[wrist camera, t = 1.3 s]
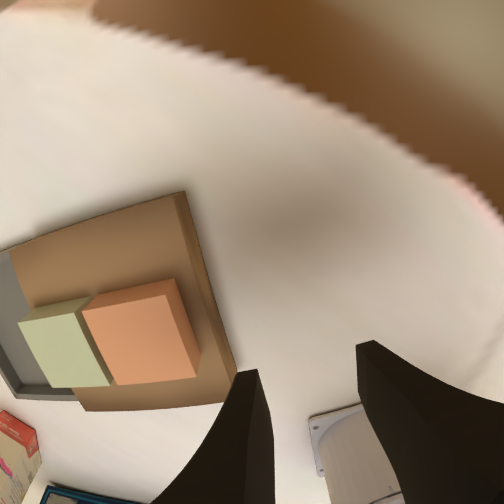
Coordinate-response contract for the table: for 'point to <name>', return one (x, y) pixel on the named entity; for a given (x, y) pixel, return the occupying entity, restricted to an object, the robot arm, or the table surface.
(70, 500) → the book
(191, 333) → the tile
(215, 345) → the plate
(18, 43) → the table surface
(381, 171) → the table surface
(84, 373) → the tile
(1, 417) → the ink cartridge box
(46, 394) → the tray
